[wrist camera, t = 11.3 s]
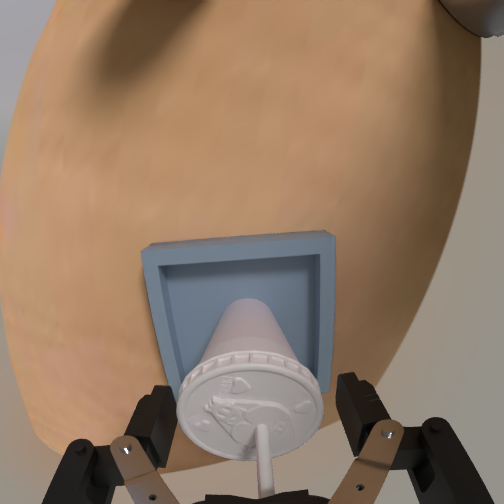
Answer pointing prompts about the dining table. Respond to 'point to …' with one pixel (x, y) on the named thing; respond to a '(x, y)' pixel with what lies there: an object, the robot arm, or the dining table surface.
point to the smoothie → (250, 393)
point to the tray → (243, 294)
